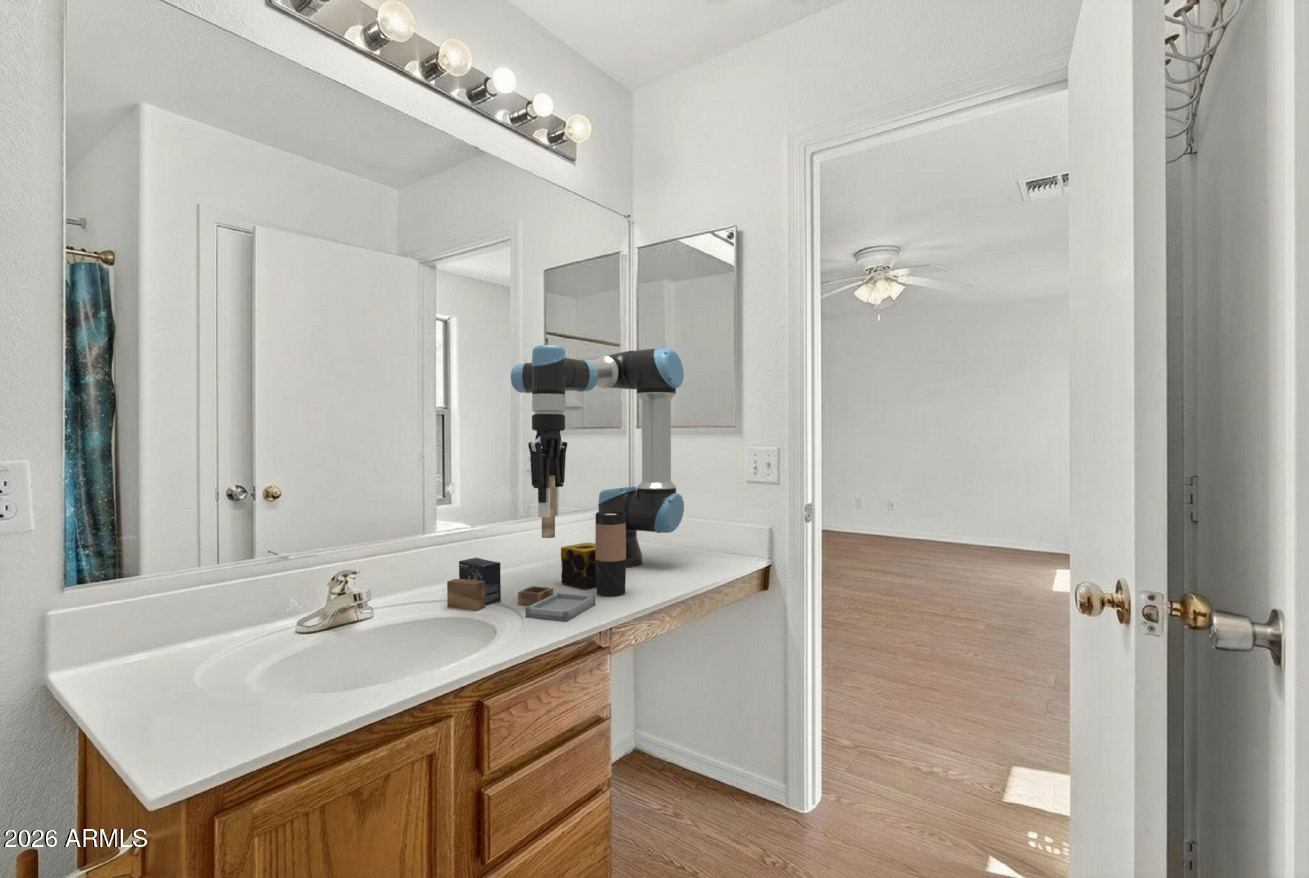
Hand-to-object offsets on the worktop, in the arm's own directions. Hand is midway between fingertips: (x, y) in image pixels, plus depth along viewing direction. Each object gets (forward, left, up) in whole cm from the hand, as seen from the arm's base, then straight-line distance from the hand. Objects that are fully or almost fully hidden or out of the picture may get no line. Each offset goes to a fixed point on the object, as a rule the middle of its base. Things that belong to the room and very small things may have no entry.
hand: (548, 515), depth 144 cm
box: (0, -19, -21) cm, 28 cm away
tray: (+1, +4, -21) cm, 21 cm away
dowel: (0, 0, -5) cm, 5 cm away
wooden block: (+6, -18, -21) cm, 28 cm away
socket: (-3, -5, -21) cm, 22 cm away
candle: (-24, -2, -21) cm, 32 cm away
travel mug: (-17, +8, -21) cm, 28 cm away
